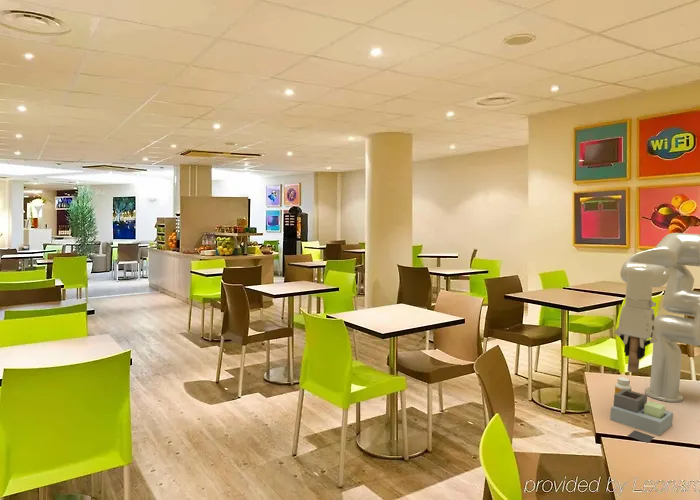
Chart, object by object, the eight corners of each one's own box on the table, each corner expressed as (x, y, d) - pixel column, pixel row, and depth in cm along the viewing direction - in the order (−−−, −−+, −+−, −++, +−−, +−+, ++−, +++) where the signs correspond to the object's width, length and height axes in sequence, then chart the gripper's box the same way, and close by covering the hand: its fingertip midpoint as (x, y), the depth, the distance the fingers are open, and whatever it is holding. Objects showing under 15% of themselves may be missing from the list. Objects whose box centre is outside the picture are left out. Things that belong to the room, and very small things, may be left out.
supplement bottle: (618, 400, 192) (620, 375, 191) (633, 405, 188) (635, 379, 186) (610, 403, 189) (612, 378, 188) (625, 408, 185) (627, 382, 184)
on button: (648, 415, 172) (649, 400, 171) (663, 419, 168) (665, 405, 168) (643, 418, 169) (644, 404, 168) (658, 423, 165) (660, 408, 165)
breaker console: (624, 412, 181) (626, 387, 180) (672, 426, 170) (674, 400, 169) (610, 421, 173) (611, 395, 172) (658, 437, 162) (661, 410, 161)
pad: (634, 432, 166) (634, 430, 166) (654, 438, 161) (655, 437, 161) (627, 437, 162) (627, 435, 162) (647, 444, 157) (647, 442, 157)
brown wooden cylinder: (629, 368, 175) (632, 329, 173) (639, 371, 173) (642, 331, 171) (626, 371, 173) (628, 330, 171) (636, 373, 170) (639, 332, 169)
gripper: (669, 306, 166) (665, 360, 168) (616, 297, 179) (613, 348, 181) (661, 309, 161) (656, 365, 164) (607, 300, 174) (604, 353, 176)
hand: (634, 356), depth 172 cm, fingers closed on brown wooden cylinder, 3 cm apart
